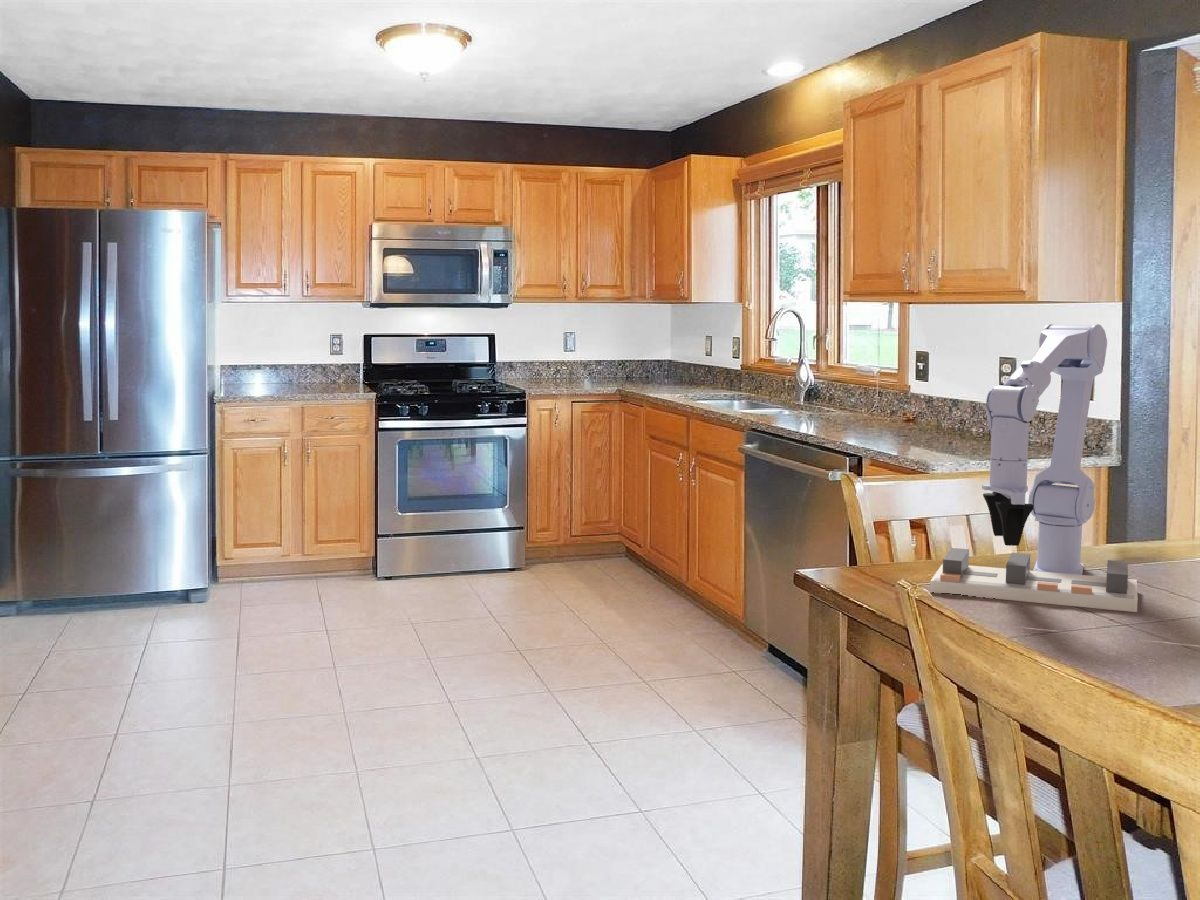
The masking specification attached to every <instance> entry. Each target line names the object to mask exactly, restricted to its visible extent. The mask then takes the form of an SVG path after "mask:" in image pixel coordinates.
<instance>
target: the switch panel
mask: <svg viewBox="0 0 1200 900" xmlns="http://www.w3.org/2000/svg"><path fill="white" fill-rule="evenodd" d="M1106 581H1107V576H1099V575H1098V576H1097V575H1087V574H1082V575H1076V574H1064V573H1053V572H1041V571H1033V570H1030V572H1029V575H1028V578H1027V580H1026V583H1025V584H1015V583H1006V567H1005V568H1002V567H993V566H979V565H969V566H968V568H967V570H966V571H965V573H964V575H963V576H962V578H961V579H960V575H958V574H947V573H943V563H942V564H941V565H940V566H939V568H938V570H937V571H936V572H935V573H934V575H933V576H932V578H931V579H930V583H929V585H930V586H929V589H930V590H929V593H932V592H934V593H933V594H941V593H954V594H961V595H960V596H962V595H968V596H967V597H972V596H976V597H975V598H983V597H985V598H986V599H993V598H995V599H996V600H1007V601H1015V602H1016V601H1017V602H1025V603H1026V602H1027V603H1038V604H1048V605H1058V606H1068V607H1079V608H1088V609H1099V610H1110V611H1122V612H1131V613H1138V600H1139V599H1138V582H1137V581H1138V579H1135V578H1128V582H1127V593H1116V592H1106Z"/></svg>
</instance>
